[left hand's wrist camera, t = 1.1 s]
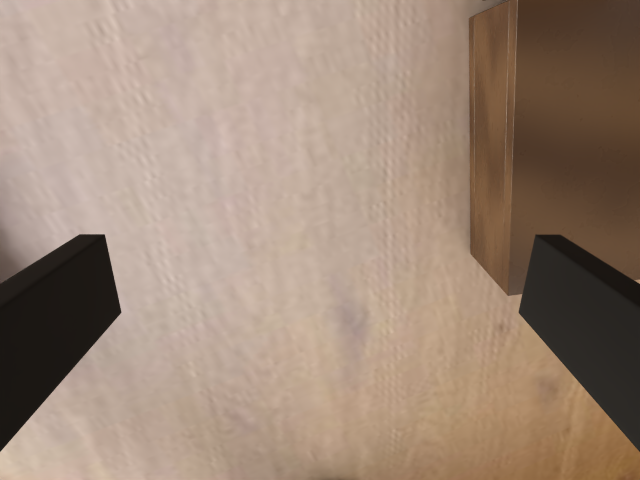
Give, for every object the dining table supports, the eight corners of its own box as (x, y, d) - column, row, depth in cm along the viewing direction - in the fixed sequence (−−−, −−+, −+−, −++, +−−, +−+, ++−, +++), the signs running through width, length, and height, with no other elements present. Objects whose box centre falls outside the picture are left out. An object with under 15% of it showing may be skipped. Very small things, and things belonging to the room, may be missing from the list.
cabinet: (468, 18, 31) (517, -4, 23) (618, -7, 30) (718, -37, 23) (470, 254, 38) (507, 296, 31) (590, 238, 38) (659, 277, 30)
